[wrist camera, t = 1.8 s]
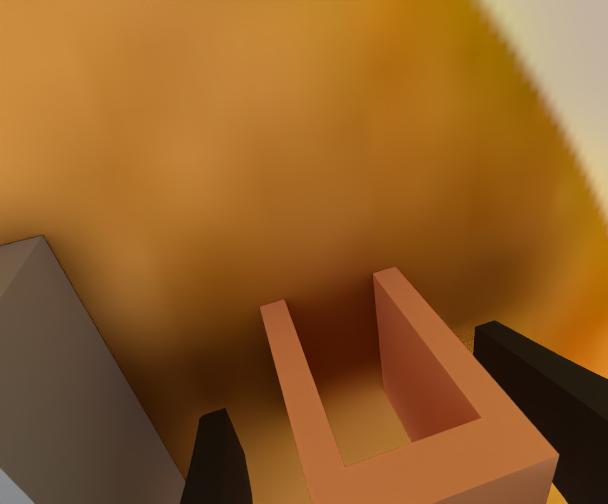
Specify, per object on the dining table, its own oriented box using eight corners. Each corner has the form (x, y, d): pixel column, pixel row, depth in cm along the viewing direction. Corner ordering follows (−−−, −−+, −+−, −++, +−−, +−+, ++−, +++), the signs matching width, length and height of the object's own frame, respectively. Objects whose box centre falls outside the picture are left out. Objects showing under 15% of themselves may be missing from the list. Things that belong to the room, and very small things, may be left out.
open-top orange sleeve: (402, 383, 14) (524, 584, 9) (292, 420, 14) (356, 654, 9) (395, 266, 12) (559, 455, 7) (259, 306, 11) (322, 544, 6)
